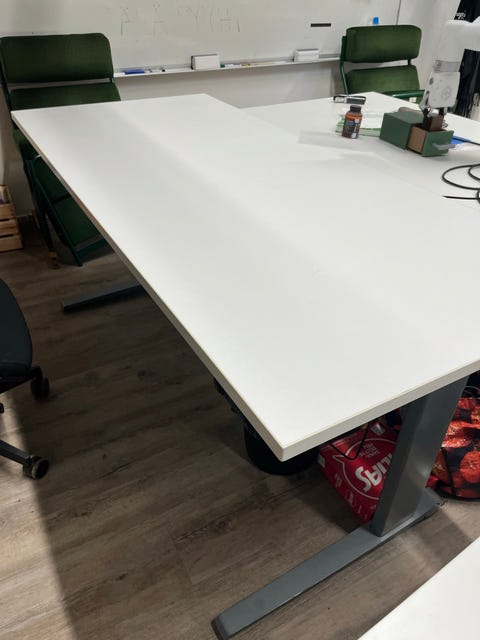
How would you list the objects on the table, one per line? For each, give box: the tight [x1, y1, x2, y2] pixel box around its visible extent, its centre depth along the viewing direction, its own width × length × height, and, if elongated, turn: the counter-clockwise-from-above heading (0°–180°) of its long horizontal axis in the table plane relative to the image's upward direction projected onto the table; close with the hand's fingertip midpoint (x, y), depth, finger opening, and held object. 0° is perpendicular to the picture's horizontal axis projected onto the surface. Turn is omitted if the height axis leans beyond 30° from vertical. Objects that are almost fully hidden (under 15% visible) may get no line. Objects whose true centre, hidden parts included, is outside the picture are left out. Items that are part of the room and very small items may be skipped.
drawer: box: [407, 125, 456, 157], centre depth 161 cm, size 18×10×7 cm, turn 23°
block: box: [428, 112, 445, 131], centre depth 158 cm, size 4×4×4 cm
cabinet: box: [378, 110, 424, 151], centre depth 170 cm, size 15×12×9 cm
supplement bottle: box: [341, 104, 363, 140], centre depth 171 cm, size 6×6×11 cm
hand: (431, 127), depth 159 cm, fingers closed on block, 4 cm apart
